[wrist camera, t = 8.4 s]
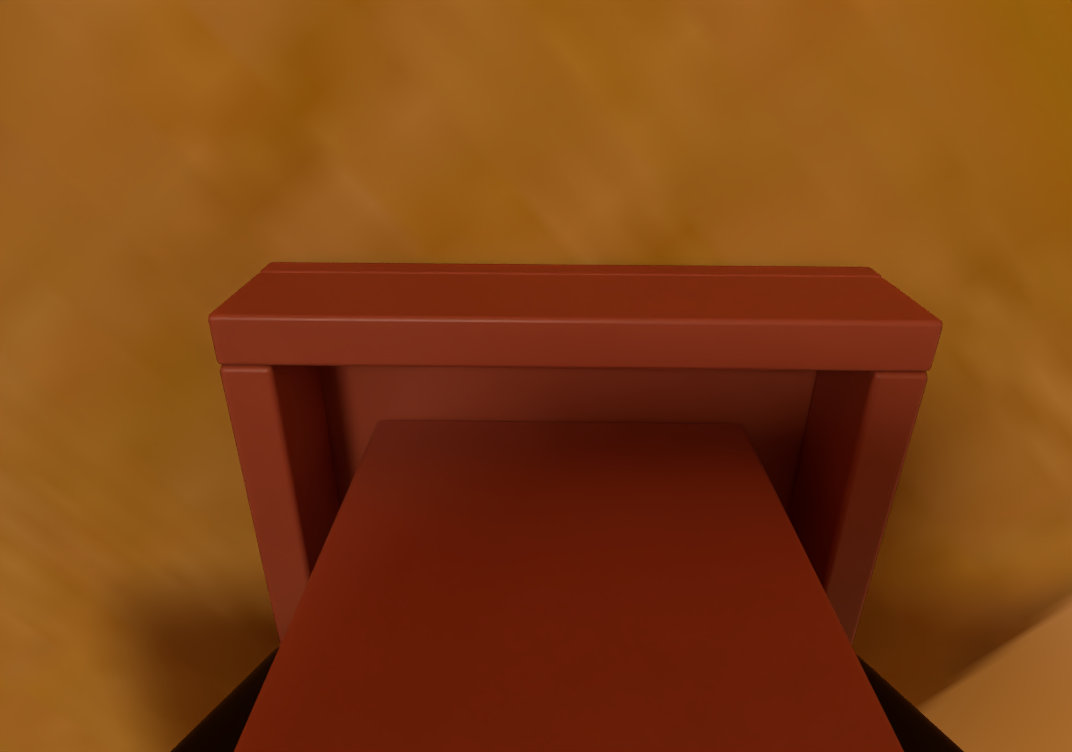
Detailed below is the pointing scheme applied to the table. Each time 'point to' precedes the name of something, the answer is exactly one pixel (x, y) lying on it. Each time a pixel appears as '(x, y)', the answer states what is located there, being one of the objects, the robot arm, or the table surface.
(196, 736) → the robot arm
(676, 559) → the rust block
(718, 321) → the rust tray
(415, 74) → the table surface
